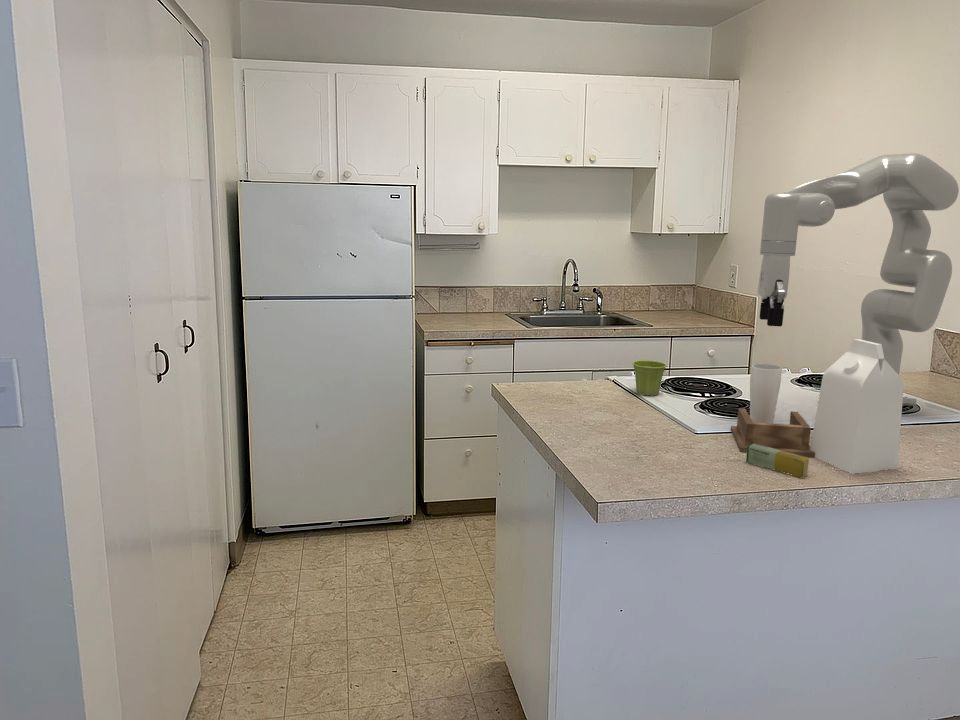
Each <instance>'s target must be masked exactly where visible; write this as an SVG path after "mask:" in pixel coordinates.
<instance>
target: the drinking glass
mask: <svg viewBox="0 0 960 720" xmlns="http://www.w3.org/2000/svg"><path fill="white" fill-rule="evenodd" d="M782 370H783V369H782V367H781V365H780V366H779V365H776V364H772V363H754V364H752V365H751V370H750V378H749V379H750V380H749V416H750V418H751V420H752V421H753V422H757V423H772V424H774V419H775V414H776V410H777V404H778V399H779V395H780V394H779V393H780V388H781V381H782Z"/></svg>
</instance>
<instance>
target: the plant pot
mask: <svg viewBox="0 0 960 720" xmlns="http://www.w3.org/2000/svg"><path fill="white" fill-rule="evenodd" d="M631 364H632V366H633V369H634V374H635V376H634V377H635V390H636V394H638V395H641V396H644V395H647V396H652V397H655V396H658V395H659V394H660V388H661V384H662V380H663V376H664V372H665V369H666V368H667V364H666V363H664V362H662V361H658V360H646V359H645V360H643V359H642V360H634V361H633V362H632V363H631ZM654 395H655V396H654Z"/></svg>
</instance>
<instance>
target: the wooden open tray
mask: <svg viewBox="0 0 960 720" xmlns="http://www.w3.org/2000/svg"><path fill="white" fill-rule="evenodd" d="M789 417H790V418H789V424H787V423H785V424H784V423H773V424H772V423H757V422H753V421H752V420H751V418H750V413H749V412H747V409H746V408H742V407H739V408H737V418H736V420H737V421H736V426H735V425H730V432H731V434H732V436H733V438H734V441H735V442H736V443H735V444H736V445H737V447H738V449H739V452H740V453H747V446H748V445H749V444H751V443H755V444H759V445H763V446H766V447H770V448H774V449H778V450H781V451H785V452H789V453H792V454H796V455H800V456H804V457H807V458H815V452H813V451H811V450H810V447H811V444H810V440H811V439H810V438H811V430H812V428H811V426H810V425H809V424H808V423H807V421H806V420H805V419H804V418H803V416H802V415H801V414H800V413H799V411H792V410H791V411H790V415H789Z"/></svg>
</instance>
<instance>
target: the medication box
mask: <svg viewBox="0 0 960 720" xmlns="http://www.w3.org/2000/svg"><path fill="white" fill-rule="evenodd" d="M745 459H746V460H745V463H747V462H748V463H747V464H750V463H752V464H751V465H754V464H756V465H755V466H757V465H759V466H758V467H761V466H763V467H762V468H764V467H767V468H766V469H768V468H771V469H770V470H772V469H775V470H778V471H777V472H779V471H782V472H785V473H784V474H786V473H789V474H792V475H791V476H793V475H795V476H794V477H796V476H798V477H797V478H800V477H802V478H801V479H803V477H804V478H805V476H806V475H807V476H808V473H809V471H808V470H809V461H810V457H804V456H800V455H796V454H792V453H789V452H785V451H781V450H778V449H774V448H770V447H766V446H763V445H759V444H755V443H751V444H749V445H748V446H747V452H746V457H745ZM775 470H774V471H775ZM782 472H781V473H782ZM789 474H788V475H789ZM807 476H806V477H807Z"/></svg>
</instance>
